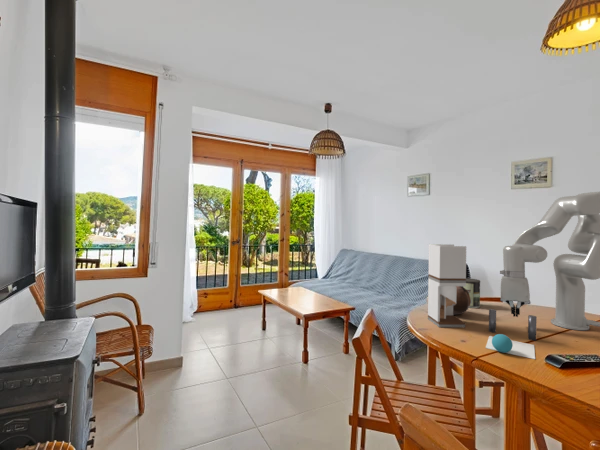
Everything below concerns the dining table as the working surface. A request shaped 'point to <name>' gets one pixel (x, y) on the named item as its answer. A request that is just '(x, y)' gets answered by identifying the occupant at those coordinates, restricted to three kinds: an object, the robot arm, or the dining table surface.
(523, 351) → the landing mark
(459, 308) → the wooden sphere
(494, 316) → the left post
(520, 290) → the robot arm
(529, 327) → the right post
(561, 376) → the dining table surface
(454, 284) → the white tower on base
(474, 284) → the coffee can
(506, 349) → the ball
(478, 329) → the dining table surface
